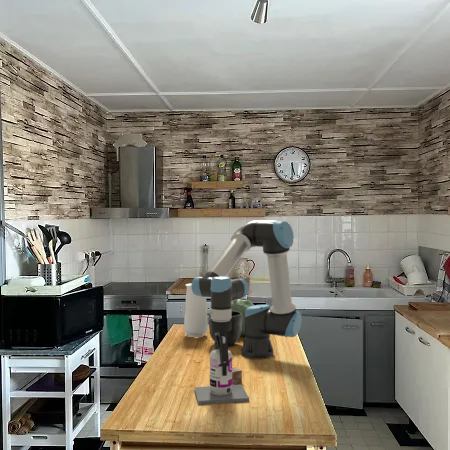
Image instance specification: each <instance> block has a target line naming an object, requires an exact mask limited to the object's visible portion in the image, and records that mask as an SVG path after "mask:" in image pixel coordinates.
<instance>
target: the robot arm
mask: <svg viewBox="0 0 450 450" xmlns="http://www.w3.org/2000/svg"><path fill="white" fill-rule="evenodd" d="M293 244H294V230H293V227H292V225H291V224H290V223H289V222H288V221H286V220H279V219H277V220H275V219H274V220H273V219H272V220H269V219H268V220H261V219H260V220H259V219H258V220H257V219H256V220H251V221H249V222H247V223H245V224H243V225H242V226H241V227H239V228H238V229H236V231H235V232H234V233H233V234H232V236H231V238H230V242H229V243H228V245H226V247H225V248H224V250H223V251H222V252H221V254H220V255H219V256H218V257H217V259H216V260H215V261H214V262H213V264H212V265H211V266H210V267H209V269H208V270H207V271H206V272H205V274H204V275H203V276H196V277H194V278H193V279H192V281H191V283H192V285H191V288H192V292H193V293H194V294H195V295H197V296H202V297H206V298H210V310H209V311H208V314H209V313H210V314H211V319H212V320H211V331H213V332H215V342H213V350H215V349H219V352H220V362H221V364H219V367H220V385H223V384H228V366H229V357H228V350H229V347H228V341H227V339H228V338H227V336H226V335H225V333H226V332H229V331H231V320H230V319H231V318H232V308H231V301H233V300H237V299H241V300H242V299H243V298H245V297H246V296H247V295H248V293H249V291H250V290H249V289H250V287H249V284H248V281H246V280H245V279H244V278H235V279H232V278H231V277H229V276H228V275H229V274H230V273H231V271H232V270H233V268H234V267H235V266H236V265H237V263H238V262H239V261H240V259H241V258H242V257H243V255H244V254H245V253H246V252H248V251H250V249H251V248H255V247H259V248H260V247H261V248H262V251H263V252H262V253H263V254H265V255H266V257H267V264H268V275H269V284H270V291H271V300H272V302H271V303H272V304H271V306H270V304H256V305H255V304H254V306H250V307H247V308H246V311H245V335H244V341H243V344H242V346H241V356H242V357H245V358H247V359H253V360H258V359H259V360H263V359H269V358H272V357H273V356H274V351H275V350H274V347H273V344H272V340H271V336H277V337H278V336H279V337H285V338H294V337H296V336H297V335H298V334H299V332H300V330H301V327H302V321H303V315H302V313H301V312H300V311H297V309H296V308H297V307H296V305H295V304H294V303H293V301H292V293H291V284H290V283H291V282H290V275H289V274H290V272H289V263H288V252H289V251H290V248H291V247H292V246H293Z"/></svg>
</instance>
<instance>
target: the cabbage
mask: <svg viewBox="0 0 450 450" xmlns="http://www.w3.org/2000/svg"><path fill="white" fill-rule="evenodd" d="M250 306H255V304H254V303H253V302H252V300H250V299H247V298H246V299H242V298H241V299H237V300H233V301H231V308H232V311H238V312H241V313H242V314H243V322H242V332H241V336H245V311H246V308H247V307H250Z"/></svg>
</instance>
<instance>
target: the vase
mask: <svg viewBox="0 0 450 450" xmlns="http://www.w3.org/2000/svg"><path fill="white" fill-rule="evenodd" d="M191 285H192V282H191V283H190V282H189V283H186V284H185V287H186V291H185V292H186V293H185V302H184V304H185V306H184V317H183V318H184V321H183V323H184V324H183V331H184V333H185V334H186V337H187V336H189V337H203V336H205V337H206V334H207V332H209V317H208V304H207V297H202V296H197V295H195V294H194V293H193V292H192V288H191ZM189 337H188V338H189ZM203 338H204V337H203Z"/></svg>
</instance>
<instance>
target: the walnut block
mask: <svg viewBox="0 0 450 450" xmlns="http://www.w3.org/2000/svg"><path fill="white" fill-rule="evenodd" d="M242 383H243V370H242V369H240V368H238V367H237V366H235V367H233V366H232V385H240V384H242Z"/></svg>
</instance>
